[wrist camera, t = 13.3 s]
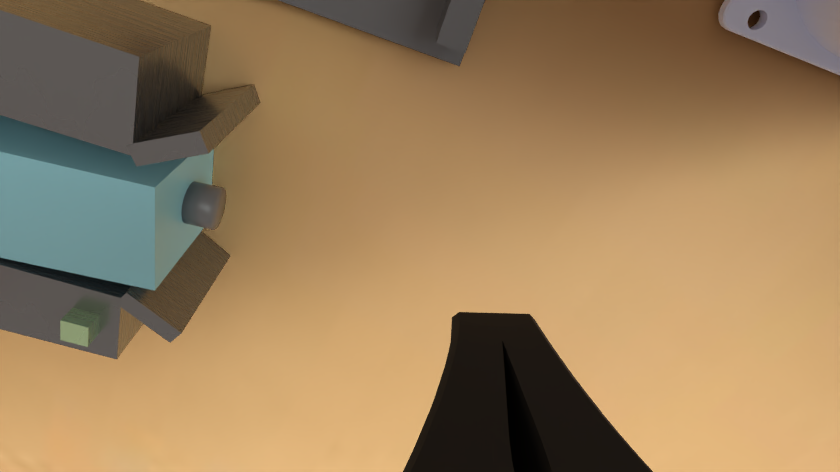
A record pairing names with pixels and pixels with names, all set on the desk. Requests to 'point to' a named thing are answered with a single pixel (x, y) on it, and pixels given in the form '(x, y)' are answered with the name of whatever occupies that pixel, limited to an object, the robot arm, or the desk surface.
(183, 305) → the port block
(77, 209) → the teal rectangular block
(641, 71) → the desk surface
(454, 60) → the holster
